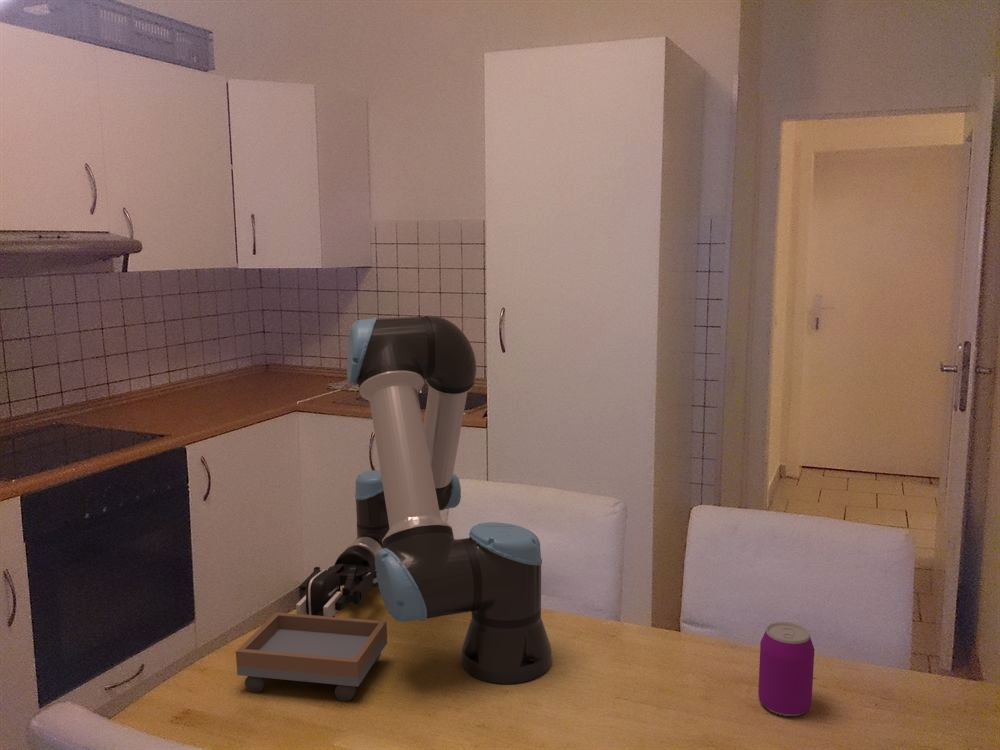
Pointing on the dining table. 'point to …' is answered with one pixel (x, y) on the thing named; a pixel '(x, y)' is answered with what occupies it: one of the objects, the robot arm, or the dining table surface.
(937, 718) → the dining table surface
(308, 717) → the dining table surface
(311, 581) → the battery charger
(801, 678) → the beverage can
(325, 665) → the tray
